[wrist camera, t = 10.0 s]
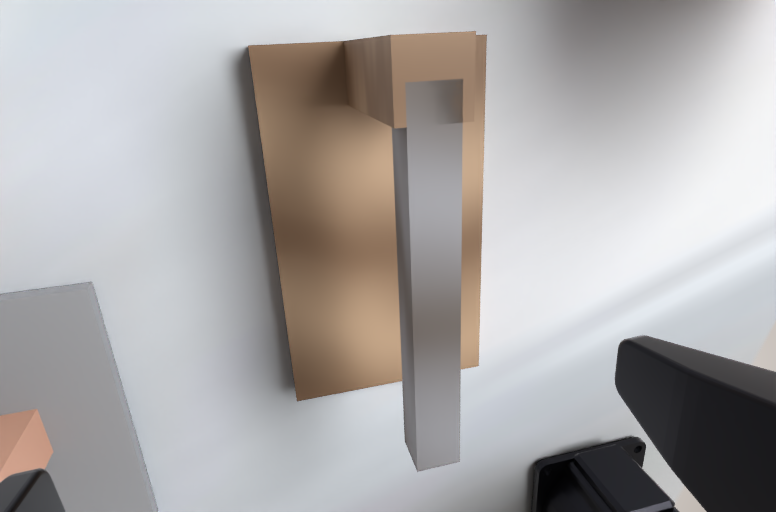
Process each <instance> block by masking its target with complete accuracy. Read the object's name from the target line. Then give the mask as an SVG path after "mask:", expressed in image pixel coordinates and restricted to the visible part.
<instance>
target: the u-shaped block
mask: <svg viewBox="0 0 776 512" xmlns="http://www.w3.org/2000/svg"><path fill="white" fill-rule="evenodd" d="M52 453H53V449H52V446H51V444H50V441H49V439H48V436H47V433H46V431H45V428H44V425H43V423H42V420H41V418H40V415H39V412H38V410H37V409H33V410H28V411H23V412H17V413H12V414H6V415H1V416H0V482H1V481H3V480H4V479H5V478H7V477H8V476H10V475H12V474H15V473H20V472H24V471H29V470H33V469H38V468H42V469H45V468H46V466H47V464H48V462H49V459H50V457H51V455H52Z"/></svg>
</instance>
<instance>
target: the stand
mask: <svg viewBox="0 0 776 512" xmlns="http://www.w3.org/2000/svg"><path fill="white" fill-rule="evenodd" d="M486 40H487V35H476V31H472V32H449V33H426V34H404V35H387V36H380V37H372V38H364V39H357V40H349V41H338V42H316V43H295V44H273V45H251V46H248V49H249V56H250V63H251V71H252V78H253V85H254V92H255V100H256V107H257V114H258V122H259V129H260V136H261V143H262V151H263V158H264V165H265V173H266V180H267V187H268V194H269V202H270V209H271V216H272V224H273V231H274V238H275V245H276V253H277V260H278V267H279V275H280V282H281V289H282V296H283V304H284V311H285V318H286V326H287V333H288V340H289V347H290V355H291V362H292V369H293V377H294V384H295V391H296V398H297V401H301V400H306V399H311V398H317V397H322V396H327V395H332V394H337V393H342V392H347V391H353V390H358V389H363V388H368V387H373V386H378V385H383V384H388V383H394V382H399V381H402V384H403V408H404V432H405V443H406V445H407V447H408V450H409V452H410V455H411V457H412V460H413V462H414V465H415V467H416V469H417V472H418V471H423V470H427V469H431V468H435V467H440V466H444V465H448V464H452V463H457V462H460V369H465V368H471V367H476V366H479V326H480V285H481V244H482V203H483V162H484V122H485V81H486Z"/></svg>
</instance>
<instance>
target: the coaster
mask: <svg viewBox="0 0 776 512" xmlns="http://www.w3.org/2000/svg"><path fill="white" fill-rule="evenodd" d="M33 409H37V410H38V412H39V415H40V418H41V420H42V423H43V425H44V428H45V431H46V433H47V436H48V439H49V441H50V444H51V446H52V449H53V453H52V455H51V457H50V459H49V462H48V464H47V466H46V468H45V470H47V471H48V472H49V474H50V476H51V478H52V480H53V482H54V485H55V487H56V489H57V492H58V494H59V496H60V499H61V501H62V504H63V506H64V508H65V511H66V512H158V508H157V504H156V501H155V497H154V494H153V491H152V487H151V484H150V480H149V477H148V473H147V470H146V466H145V463H144V459H143V456H142V453H141V449H140V446H139V442H138V439H137V435H136V432H135V428H134V425H133V421H132V418H131V415H130V411H129V408H128V404H127V401H126V397H125V394H124V390H123V387H122V383H121V380H120V377H119V373H118V370H117V366H116V363H115V359H114V356H113V352H112V349H111V345H110V342H109V339H108V335H107V332H106V328H105V325H104V321H103V318H102V314H101V311H100V307H99V304H98V301H97V297H96V294H95V290H94V287H93V283H92V282H88V283H81V284H73V285H66V286H58V287H51V288H43V289H36V290H28V291H21V292H13V293H6V294H0V416H1V415H6V414H12V413H17V412H23V411H28V410H33Z"/></svg>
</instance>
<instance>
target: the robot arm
mask: <svg viewBox="0 0 776 512" xmlns="http://www.w3.org/2000/svg"><path fill="white" fill-rule="evenodd" d="M615 385H616V388H617V391H618V393H619V395H620V396H621V398H622V399H623V401H624V402H625V403H626V405H627V406H628V408H629V409H630V411H631V412H632V414H633V415H634V416H635V418H636V419H637V421H638V422H639V424H640V425H641V427H642V428H643V429H644V431H645V432H646V434H647V435H648V437H649V438H650V440H651V441H652V442H653V444H654V445H655V447H656V448H657V450H658V451H659V453H660V454H661V455H662V457H663V458H664V460H665V461H666V462H667V464H668V465H669V466H670V468H671V469H672V470H673V472H674V473H675V474H676V475H677V477H678V478H679V479H680V480H681V482H682V483H683V484H684V485H685V486H686V488H687V489H688V490H689V491H690V492H691V493H692V495H693V496H694V497H695V498H696V499H697V500H698V502H699V503H700V504H701V506H702V507H703V508H704V509H705V510H706V511H707V512H776V372H774V371H770V370H767V369H763V368H760V367H756V366H753V365H749V364H745V363H742V362H738V361H735V360H731V359H728V358H724V357H721V356H717V355H713V354H710V353H706V352H703V351H699V350H696V349H692V348H689V347H685V346H681V345H678V344H674V343H671V342H667V341H664V340H660V339H656V338H653V337H649V336H637V337H632V338H628V339H624V340H623V341H621V343H620V344H619V347H618V355H617V363H616V372H615ZM645 450H646V444H645V443H644V442H643V441H642V440H641V439H640V438H639V437H633V438H629V439H625V440H621V441H616V442H612V443H608V444H604V445H600V446H596V447H592V448H588V449H584V450H580V451H575V452H571V453H567V454H563V455H559V456H555V457H551V458H547V459H543V460H541V461H540V462H538V464H537V465H536V467H535V476H534V489H533V501H532V512H679V511H678V510H677V509H676V508H675V507H674V505H675V503H674V501H673V500H672V499H671V498H670V497H669V496H668V495H667V494H666V493H665V492H664V491H663V490H662V489H661V488H660V486H659V485H658V484H657V483H656V482H655V481H654V480H653V479H652V478H651V477H650V476H649V475H648V474H647V473H646V472H645V471H644V470H643V469H642V466H643V461H644V455H645ZM0 512H66V511H65V508H64V506H63V504H62V501H61V499H60V496H59V494H58V492H57V489H56V487H55V485H54V482H53V480H52V478H51V476H50V474H49V472H48V471H47V470H45V469H42V468H38V469H33V470H29V471H24V472H20V473H15V474H12V475H10V476H8V477H7V478H5V479H4V480H3V481H1V482H0Z"/></svg>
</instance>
